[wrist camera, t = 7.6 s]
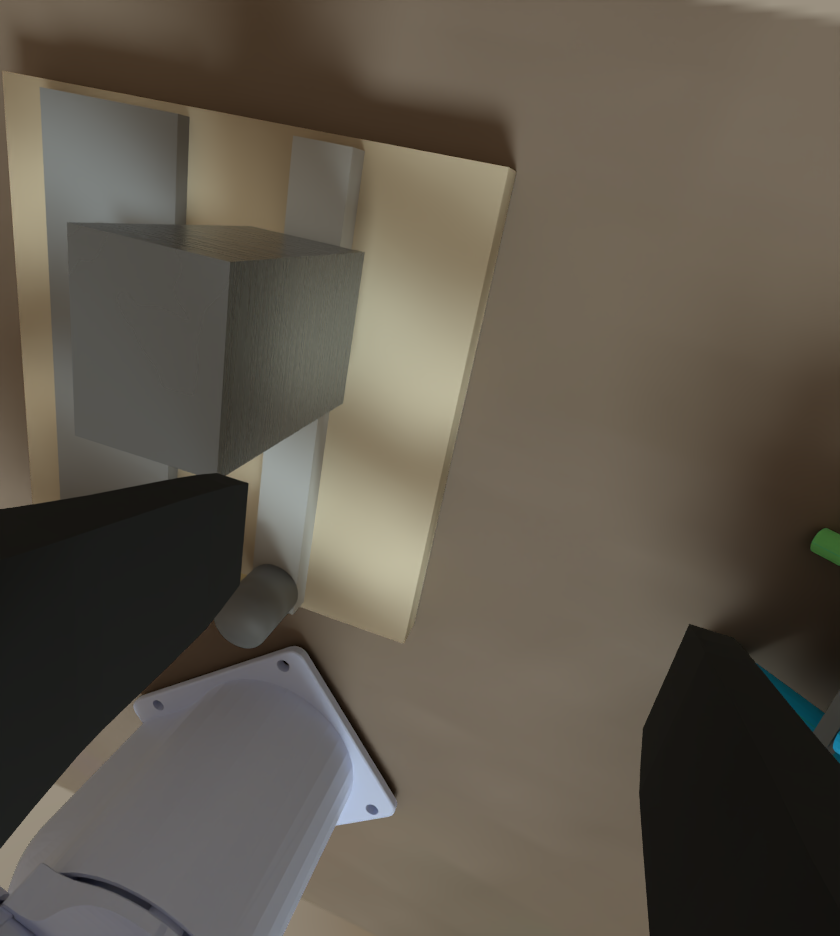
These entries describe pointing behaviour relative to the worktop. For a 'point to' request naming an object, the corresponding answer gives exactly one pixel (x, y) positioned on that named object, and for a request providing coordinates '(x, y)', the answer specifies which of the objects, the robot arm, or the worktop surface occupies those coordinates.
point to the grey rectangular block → (206, 338)
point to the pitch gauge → (373, 344)
